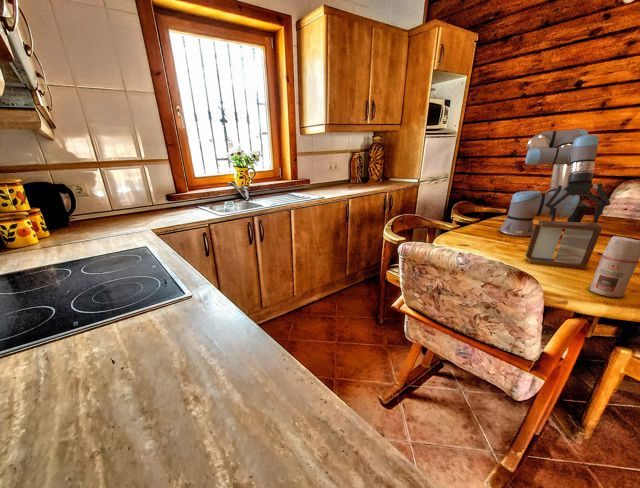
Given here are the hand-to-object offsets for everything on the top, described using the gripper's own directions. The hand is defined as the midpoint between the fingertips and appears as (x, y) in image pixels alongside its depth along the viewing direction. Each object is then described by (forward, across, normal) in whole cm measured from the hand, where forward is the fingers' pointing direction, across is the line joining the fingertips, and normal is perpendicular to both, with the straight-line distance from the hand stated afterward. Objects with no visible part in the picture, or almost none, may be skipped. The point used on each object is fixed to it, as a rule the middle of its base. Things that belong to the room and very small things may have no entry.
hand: (573, 222), depth 123 cm
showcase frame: (+18, -7, -13) cm, 23 cm away
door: (+16, -12, -13) cm, 24 cm away
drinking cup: (+1, +10, +54) cm, 55 cm away
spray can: (+26, +4, -34) cm, 43 cm away
